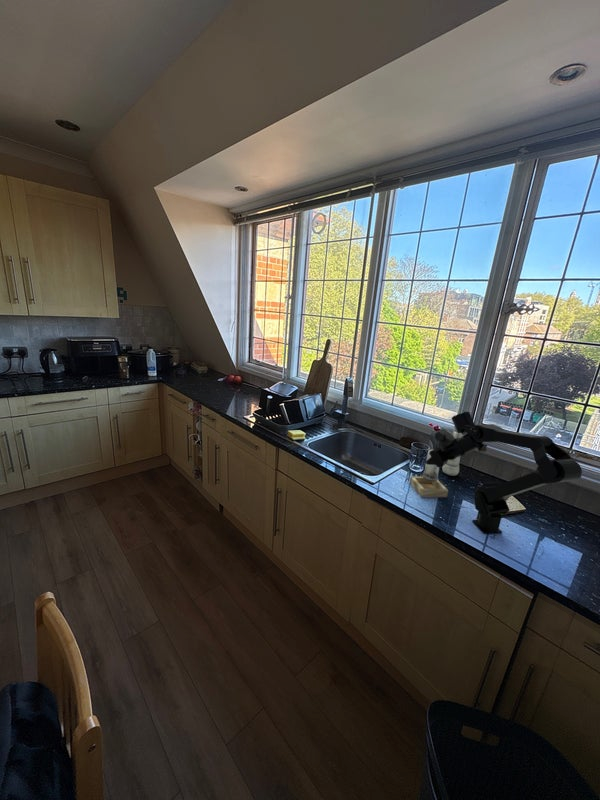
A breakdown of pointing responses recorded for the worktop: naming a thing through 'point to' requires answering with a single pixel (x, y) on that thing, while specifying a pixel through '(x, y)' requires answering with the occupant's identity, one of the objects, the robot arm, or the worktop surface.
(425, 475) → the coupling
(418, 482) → the square wooden tray
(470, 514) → the worktop surface
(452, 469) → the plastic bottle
